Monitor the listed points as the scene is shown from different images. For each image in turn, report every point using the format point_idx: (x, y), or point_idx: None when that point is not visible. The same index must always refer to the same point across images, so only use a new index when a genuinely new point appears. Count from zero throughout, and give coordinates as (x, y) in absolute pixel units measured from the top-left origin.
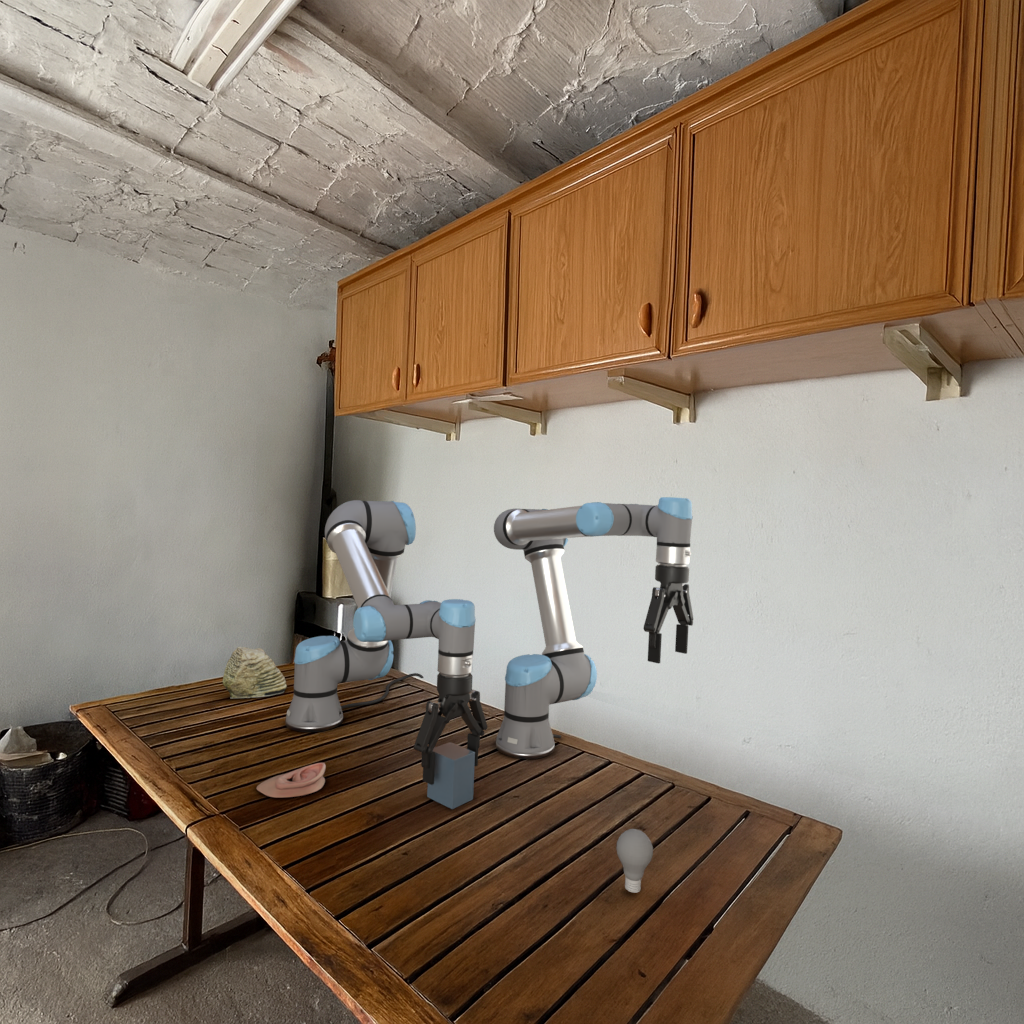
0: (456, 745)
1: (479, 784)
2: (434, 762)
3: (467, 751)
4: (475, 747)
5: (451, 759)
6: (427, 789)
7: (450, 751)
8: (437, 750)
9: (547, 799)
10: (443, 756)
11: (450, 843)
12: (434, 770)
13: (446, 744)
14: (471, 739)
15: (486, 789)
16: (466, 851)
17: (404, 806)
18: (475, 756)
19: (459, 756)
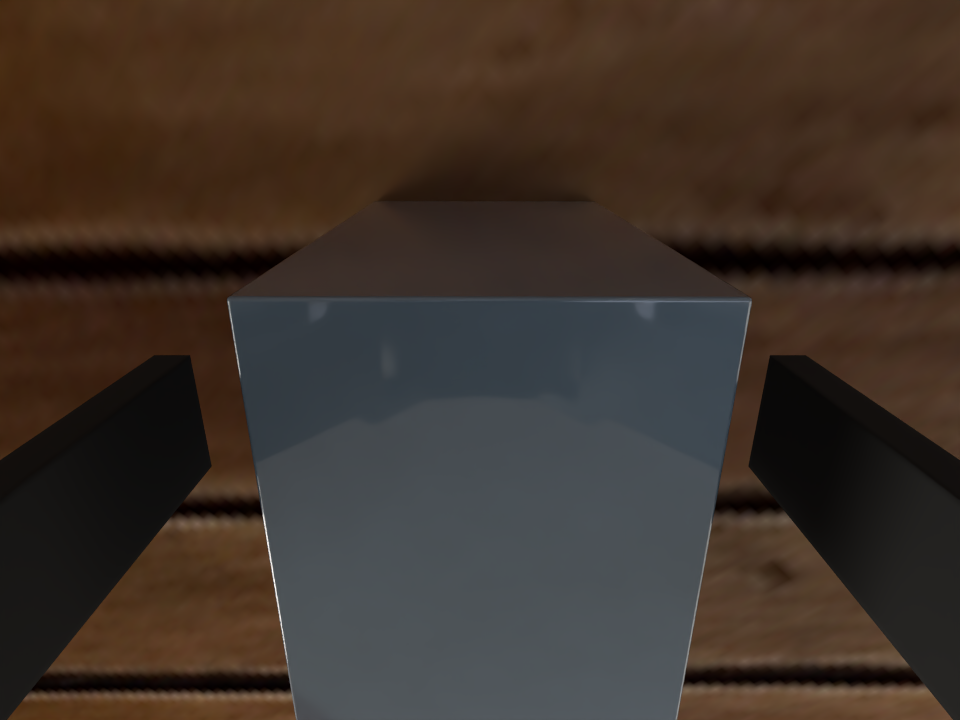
0: (690, 475)
1: (787, 325)
2: (80, 617)
3: (620, 687)
4: (862, 597)
5: (296, 704)
6: (364, 208)
7: (451, 561)
8: (319, 420)
9: (846, 684)
10: (276, 587)
11: (166, 641)
12: (144, 545)
13: (612, 342)
14: (952, 602)
15: (750, 407)
16: (190, 714)
17: (158, 193)
18: (799, 524)
19: (426, 717)
